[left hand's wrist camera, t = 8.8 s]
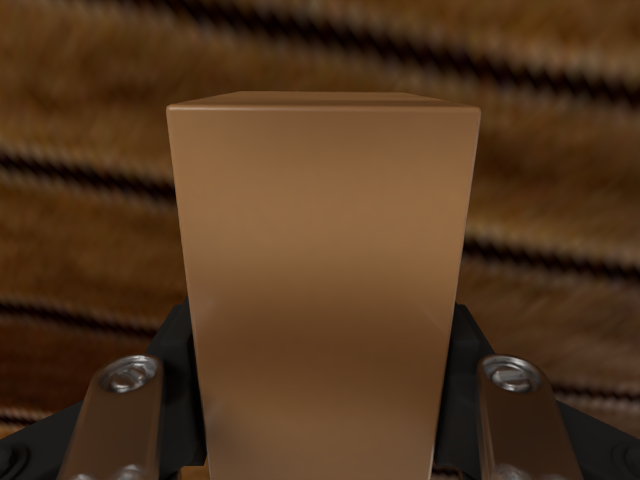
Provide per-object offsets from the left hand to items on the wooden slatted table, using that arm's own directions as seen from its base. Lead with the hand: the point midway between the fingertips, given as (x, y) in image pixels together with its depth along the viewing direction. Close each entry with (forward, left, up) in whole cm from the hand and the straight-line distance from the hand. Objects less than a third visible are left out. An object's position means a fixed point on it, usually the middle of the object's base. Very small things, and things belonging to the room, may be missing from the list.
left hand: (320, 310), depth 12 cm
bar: (+18, +8, -2) cm, 19 cm away
